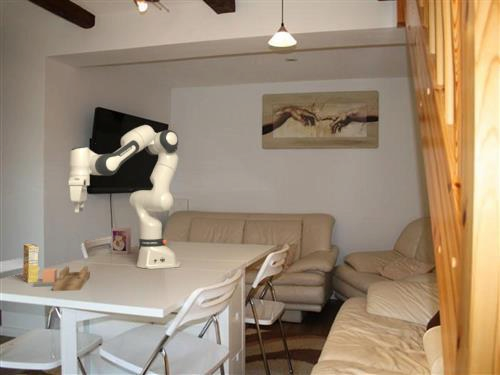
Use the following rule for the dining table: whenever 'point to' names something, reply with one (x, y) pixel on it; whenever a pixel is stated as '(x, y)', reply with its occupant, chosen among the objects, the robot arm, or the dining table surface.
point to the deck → (71, 279)
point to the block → (49, 275)
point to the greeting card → (121, 240)
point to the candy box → (30, 263)
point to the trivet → (43, 283)
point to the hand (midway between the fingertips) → (79, 211)
